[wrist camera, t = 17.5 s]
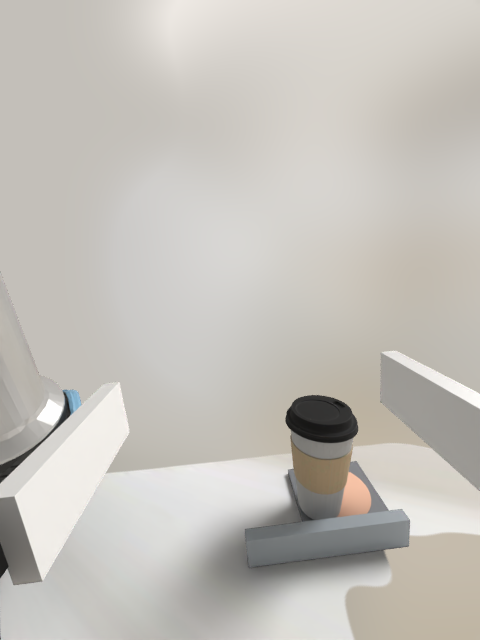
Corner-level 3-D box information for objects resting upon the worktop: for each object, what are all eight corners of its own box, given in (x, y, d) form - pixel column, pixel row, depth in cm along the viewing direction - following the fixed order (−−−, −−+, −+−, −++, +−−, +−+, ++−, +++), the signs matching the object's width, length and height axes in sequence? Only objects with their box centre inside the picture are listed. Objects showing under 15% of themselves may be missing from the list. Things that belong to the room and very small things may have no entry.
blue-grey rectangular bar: (248, 567, 33) (245, 541, 32) (247, 554, 34) (244, 529, 33) (408, 546, 33) (409, 520, 32) (401, 534, 35) (401, 509, 34)
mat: (306, 536, 36) (306, 531, 35) (288, 473, 46) (288, 469, 46) (395, 525, 36) (395, 519, 36) (356, 465, 47) (356, 460, 46)
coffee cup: (363, 501, 39) (369, 406, 36) (336, 550, 32) (341, 438, 30) (305, 470, 45) (306, 387, 43) (272, 506, 39) (271, 410, 36)
